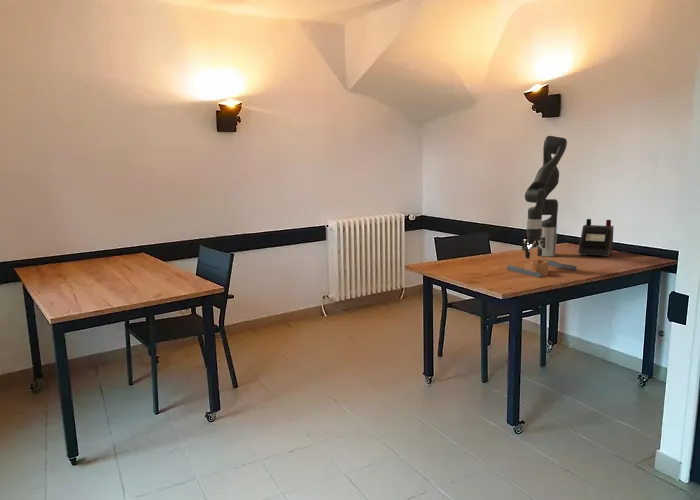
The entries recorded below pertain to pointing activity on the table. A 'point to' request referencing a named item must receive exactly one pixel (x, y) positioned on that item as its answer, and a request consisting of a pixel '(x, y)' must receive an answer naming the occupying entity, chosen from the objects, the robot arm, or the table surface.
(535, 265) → the bracket
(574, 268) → the guide rails
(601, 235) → the voltmeter
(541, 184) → the robot arm
